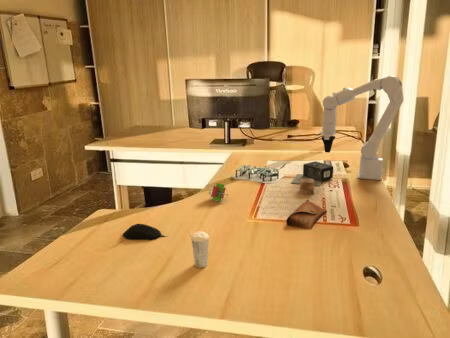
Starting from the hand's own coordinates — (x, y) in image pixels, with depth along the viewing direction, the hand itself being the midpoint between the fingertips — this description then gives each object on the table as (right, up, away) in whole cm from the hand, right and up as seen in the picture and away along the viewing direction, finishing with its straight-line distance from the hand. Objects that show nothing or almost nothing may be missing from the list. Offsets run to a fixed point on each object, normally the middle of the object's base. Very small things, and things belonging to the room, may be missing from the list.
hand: (327, 152), depth 173 cm
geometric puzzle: (-49, -20, -29) cm, 60 cm away
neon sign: (-29, -10, +5) cm, 31 cm away
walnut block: (-14, -17, -23) cm, 32 cm away
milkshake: (-54, -33, -73) cm, 97 cm away
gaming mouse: (-71, -29, -56) cm, 95 cm away
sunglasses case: (-19, -25, -46) cm, 55 cm away
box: (-3, -10, -11) cm, 15 cm away
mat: (-11, -13, -9) cm, 19 cm away
